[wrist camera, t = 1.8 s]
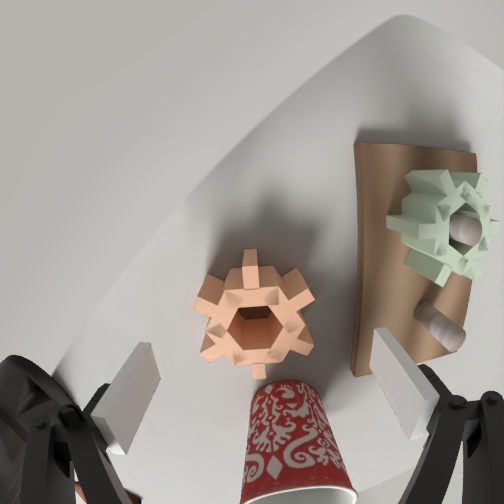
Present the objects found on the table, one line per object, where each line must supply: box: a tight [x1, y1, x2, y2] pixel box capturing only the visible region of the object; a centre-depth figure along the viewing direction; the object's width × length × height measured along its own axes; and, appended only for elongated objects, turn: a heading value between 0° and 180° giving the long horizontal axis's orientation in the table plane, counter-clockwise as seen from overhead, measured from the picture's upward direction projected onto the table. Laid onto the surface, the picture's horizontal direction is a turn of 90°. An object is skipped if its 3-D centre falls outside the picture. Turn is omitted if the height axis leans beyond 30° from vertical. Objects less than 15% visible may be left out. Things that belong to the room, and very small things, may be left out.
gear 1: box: [192, 248, 315, 380], centre depth 22 cm, size 9×8×5 cm
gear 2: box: [386, 170, 500, 287], centre depth 19 cm, size 9×8×5 cm
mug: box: [240, 381, 358, 504], centre depth 21 cm, size 13×9×14 cm
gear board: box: [350, 143, 482, 377], centre depth 20 cm, size 13×21×8 cm, turn 4°
